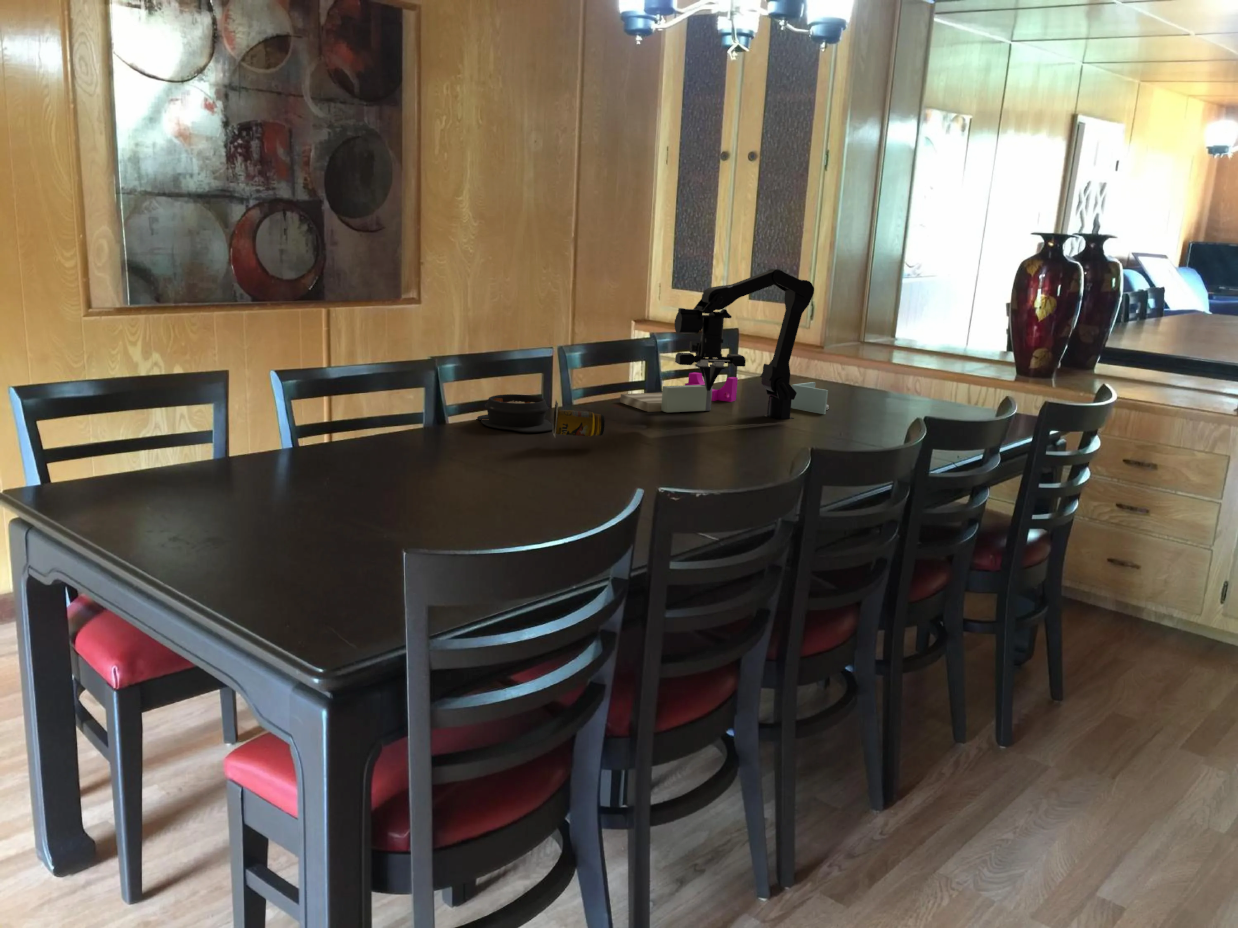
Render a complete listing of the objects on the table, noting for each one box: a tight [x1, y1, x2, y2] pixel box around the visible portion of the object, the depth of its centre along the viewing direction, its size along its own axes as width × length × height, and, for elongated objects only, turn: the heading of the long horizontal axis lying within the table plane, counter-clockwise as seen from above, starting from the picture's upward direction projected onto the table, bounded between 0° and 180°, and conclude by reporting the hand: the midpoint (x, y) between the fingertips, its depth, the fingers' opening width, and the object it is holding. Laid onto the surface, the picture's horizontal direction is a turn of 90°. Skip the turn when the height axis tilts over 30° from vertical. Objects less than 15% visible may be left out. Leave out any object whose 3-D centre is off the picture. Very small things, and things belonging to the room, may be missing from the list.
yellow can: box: [552, 400, 606, 438], centre depth 235 cm, size 7×8×12 cm
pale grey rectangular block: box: [660, 384, 713, 413], centre depth 278 cm, size 16×3×7 cm, turn 120°
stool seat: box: [619, 392, 662, 413], centre depth 286 cm, size 16×20×2 cm
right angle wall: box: [791, 381, 830, 415], centre depth 294 cm, size 12×12×8 cm
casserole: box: [476, 393, 553, 433], centre depth 258 cm, size 25×19×8 cm
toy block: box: [684, 371, 739, 403], centre depth 303 cm, size 15×6×8 cm, turn 60°
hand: (708, 390), depth 270 cm, fingers closed
